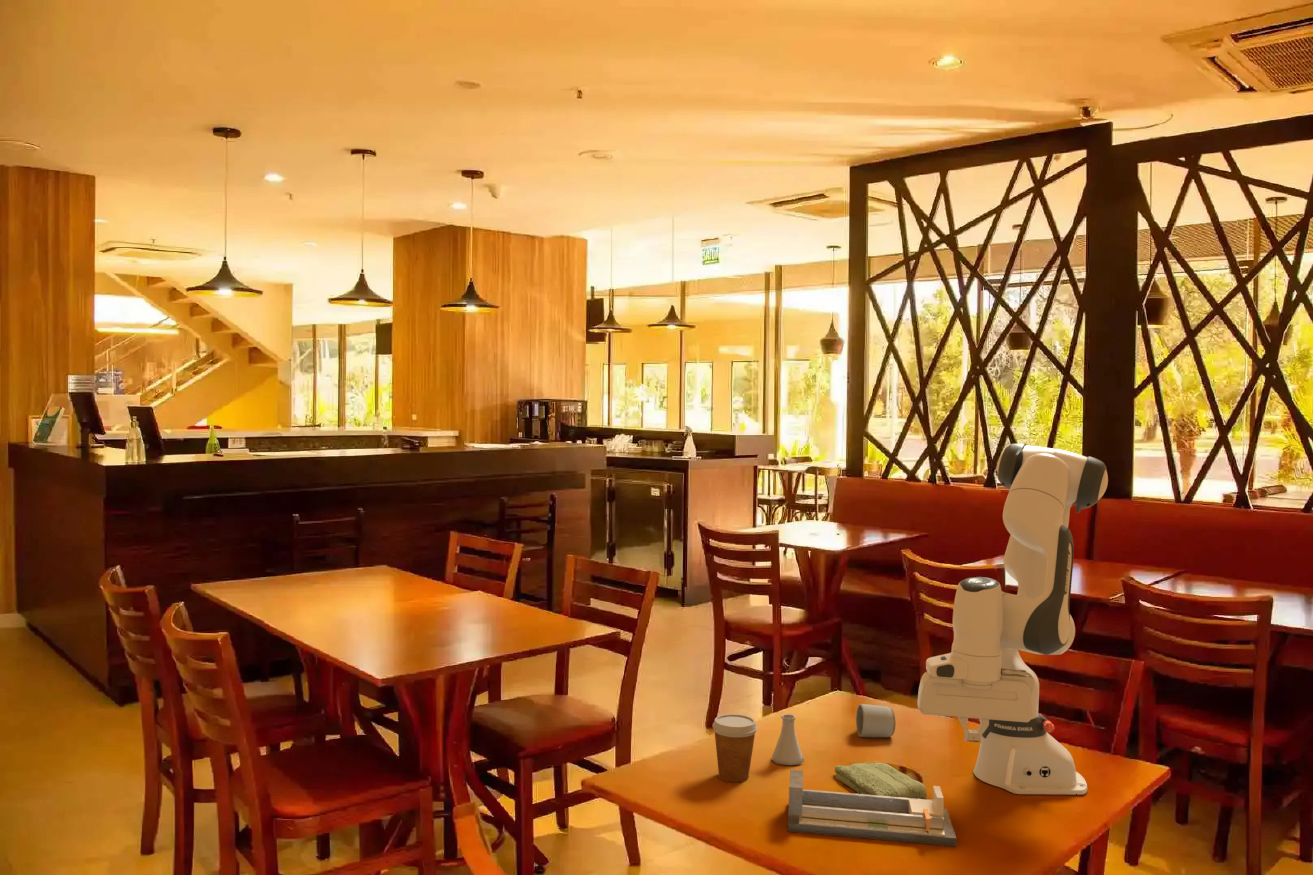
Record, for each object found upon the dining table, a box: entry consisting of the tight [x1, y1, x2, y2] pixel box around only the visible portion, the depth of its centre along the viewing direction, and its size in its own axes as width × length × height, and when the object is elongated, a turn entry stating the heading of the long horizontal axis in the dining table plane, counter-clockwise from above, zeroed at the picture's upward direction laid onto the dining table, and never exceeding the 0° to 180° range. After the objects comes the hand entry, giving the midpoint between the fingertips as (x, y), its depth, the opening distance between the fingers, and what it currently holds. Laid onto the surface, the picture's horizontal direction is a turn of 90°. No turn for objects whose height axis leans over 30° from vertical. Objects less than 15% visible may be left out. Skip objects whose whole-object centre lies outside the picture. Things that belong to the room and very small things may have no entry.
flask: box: [770, 713, 804, 766], centre depth 213 cm, size 7×7×10 cm
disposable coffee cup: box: [711, 713, 758, 783], centre depth 203 cm, size 10×10×12 cm
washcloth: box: [834, 762, 928, 799], centre depth 199 cm, size 13×18×3 cm
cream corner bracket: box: [908, 785, 945, 831], centre depth 177 cm, size 6×10×5 cm, turn 171°
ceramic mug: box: [855, 703, 897, 738], centre depth 232 cm, size 11×8×8 cm
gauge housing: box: [787, 769, 957, 848], centre depth 181 cm, size 30×13×8 cm, turn 81°
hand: (972, 740), depth 177 cm, fingers closed
